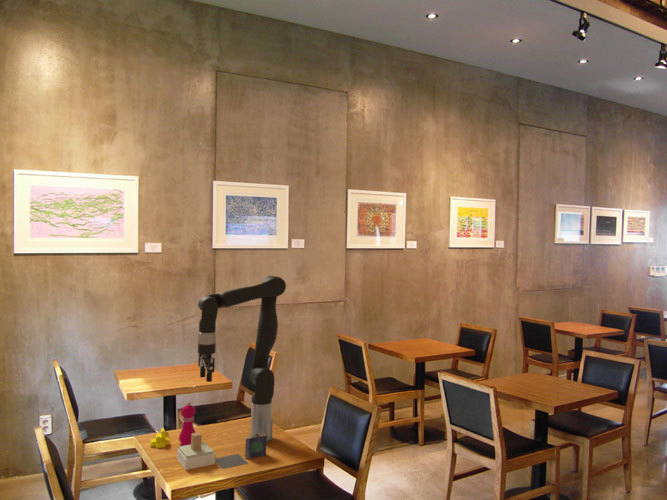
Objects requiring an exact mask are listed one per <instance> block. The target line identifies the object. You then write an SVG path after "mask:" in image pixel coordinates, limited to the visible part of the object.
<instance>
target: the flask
mask: <svg viewBox="0 0 667 500" xmlns="http://www.w3.org/2000/svg"><path fill="white" fill-rule="evenodd" d="M266 437H267V436H266V435H265V434H258V433H257V431H255V432H254V435H253V436H246V437H245V447H244V448H245V449H244V451H245V452H244V453H245V454H244V459H245V460H250V459H254V458H258V457H265V456H266V454H267V453H266V452H267V442H266Z"/></svg>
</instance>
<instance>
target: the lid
mask: <svg viewBox="0 0 667 500" xmlns="http://www.w3.org/2000/svg"><path fill="white" fill-rule="evenodd" d="M178 449H179V450H180V452H181V453H182V454H183V455H184V456H185V458H186V459H189V458H194V457H199V456H204V455H209V454H214V453H215V451H214V449H212V448H211V447H210V446H209V445H208V444H207V442H205V441H202V434H201V433H200V432H195V433H192V434H191V445H185V446H180V445H179V446H178Z"/></svg>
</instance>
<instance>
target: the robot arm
mask: <svg viewBox="0 0 667 500" xmlns="http://www.w3.org/2000/svg"><path fill="white" fill-rule="evenodd" d="M286 289H287V284H286V281H285V280H284V278H282V277H280V276H277V275H267V276H266V277H265V278H264V279H263V281H262V282H261V283H260V284H259V283H258V284H256V285H251V286H243V287H237V288H233V289H230V290H226V291H223V292H221V293H220V292H218V293H212V294H207V295H204V296H202V297H200V299H199V300H198V303H197V304H198V308H199V310H200V311H201V316H200V317H201V319H200V320H199V322H198V323H199V324H198V336H197V353H198V365H197V366H198V367H199V377H200V378H206V382H207V383H210V382H212V381H213V373H215V357H212V355H213V354H215V353H216V347H217V344H216V343H217V335H216V334H217V333H216V322H217V321H216V320H217V317H218V310H219V309H221V308H231V307H233V306H238V305H240V304H244V303H247V302H250V301H255V300H259V299H260V300H261V301H260V309H259V317H258V323H257V331H256V339H255V346H254V347H255V348H254V354H253V360H252V364H251V369H250V373H249V378H250V382H251V383H252V384H253V385H255V387H254V394H253V395H252V396H251V403H250V404H251V406H250V408H251V410H250V412H251V413H250V436H253V435H254V432H255V431H257V433H258V434H265V435H266V436H267V437H266V443H268V442H270V441H272V440H273V434H274V433H273V429H274V428H273V426H274V419H273V418H272V403H273V402H272V401H273V397H274V395H275V394H274V392H275V374H274V372H273V371H272V369H270V368H269V358H270V354H271V351H272V349H273V347H274V345H275V344H276V341H277V337H278V336H277V335H278V328H279V325H278V324H279V323H278V315H277V309H276V308H277V307H276V306H277V300H278V297H279V296H282V294H284V293H285V291H286Z"/></svg>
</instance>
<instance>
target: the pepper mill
mask: <svg viewBox="0 0 667 500" xmlns="http://www.w3.org/2000/svg"><path fill="white" fill-rule="evenodd" d="M191 404H192V403H191V401H187V402H186V404H185V405H184V406H183V407H182V409H181V411H180V414H181V415H182V418H181V419H182V429H181V431H180V433H179V435H178V441H179V442H180V444H179V447H180V446H185V445H191V434H192V433H196V430H195V428H194V421H195V415H196V408H195V406H193V405H191Z"/></svg>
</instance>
